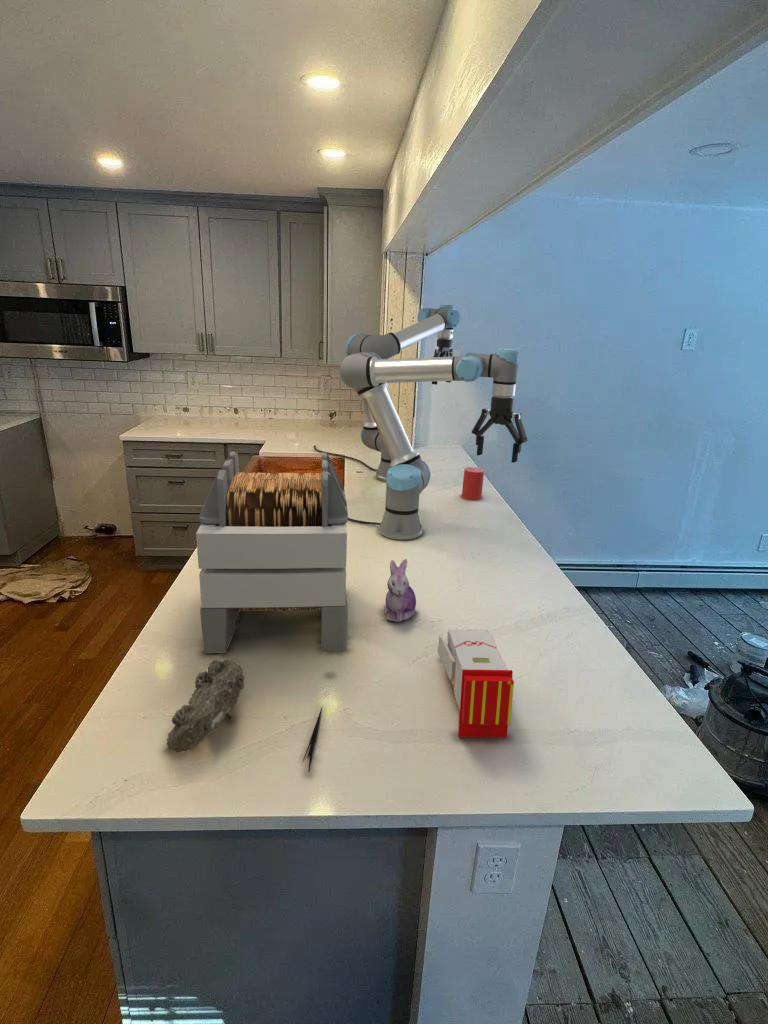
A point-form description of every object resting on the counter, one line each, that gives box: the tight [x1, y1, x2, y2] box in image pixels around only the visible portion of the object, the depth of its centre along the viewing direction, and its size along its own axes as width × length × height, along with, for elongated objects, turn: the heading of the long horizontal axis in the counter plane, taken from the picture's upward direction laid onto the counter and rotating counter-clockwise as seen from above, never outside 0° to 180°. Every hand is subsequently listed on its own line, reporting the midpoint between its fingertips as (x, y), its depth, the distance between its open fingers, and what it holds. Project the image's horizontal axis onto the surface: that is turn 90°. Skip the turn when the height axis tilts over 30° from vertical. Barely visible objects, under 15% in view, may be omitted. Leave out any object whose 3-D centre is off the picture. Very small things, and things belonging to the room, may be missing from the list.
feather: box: [301, 673, 332, 771], centre depth 108 cm, size 2×28×2 cm
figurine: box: [384, 558, 417, 623], centre depth 145 cm, size 9×10×15 cm
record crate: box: [195, 450, 349, 655], centre depth 137 cm, size 34×33×41 cm
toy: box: [437, 628, 515, 738], centre depth 117 cm, size 12×13×30 cm
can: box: [461, 466, 485, 501], centre depth 241 cm, size 8×8×12 cm
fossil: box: [166, 658, 245, 754], centre depth 106 cm, size 22×10×15 cm
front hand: (496, 458), depth 197 cm, fingers open, 13 cm apart
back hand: (441, 383), depth 281 cm, fingers open, 13 cm apart
